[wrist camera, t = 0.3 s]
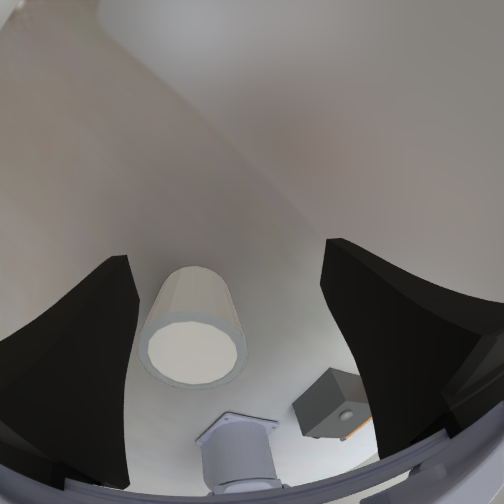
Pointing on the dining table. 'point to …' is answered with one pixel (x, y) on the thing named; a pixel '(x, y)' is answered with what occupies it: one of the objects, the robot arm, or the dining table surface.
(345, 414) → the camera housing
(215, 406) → the dining table surface
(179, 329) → the white cup
